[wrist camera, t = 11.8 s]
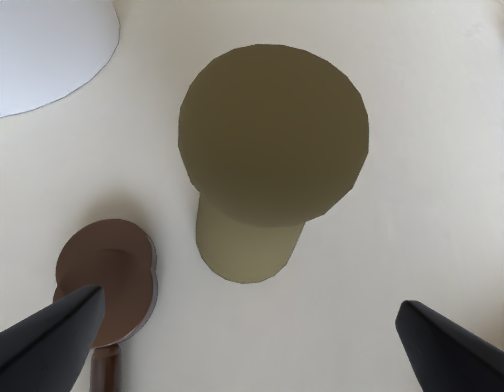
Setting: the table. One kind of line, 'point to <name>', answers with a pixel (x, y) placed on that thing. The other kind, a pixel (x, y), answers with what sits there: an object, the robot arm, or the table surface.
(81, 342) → the robot arm
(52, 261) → the table surface
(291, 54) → the olive pawn
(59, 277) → the wooden spoon
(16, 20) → the cylinder
